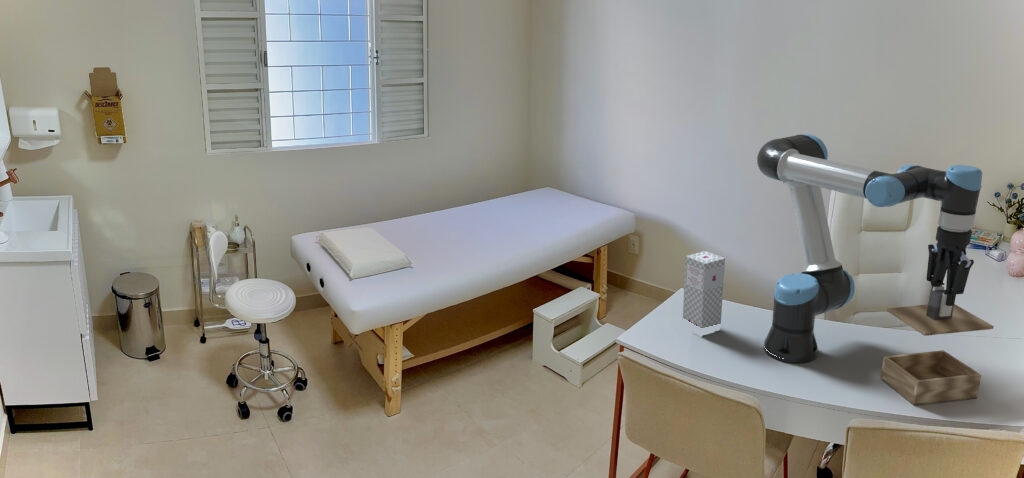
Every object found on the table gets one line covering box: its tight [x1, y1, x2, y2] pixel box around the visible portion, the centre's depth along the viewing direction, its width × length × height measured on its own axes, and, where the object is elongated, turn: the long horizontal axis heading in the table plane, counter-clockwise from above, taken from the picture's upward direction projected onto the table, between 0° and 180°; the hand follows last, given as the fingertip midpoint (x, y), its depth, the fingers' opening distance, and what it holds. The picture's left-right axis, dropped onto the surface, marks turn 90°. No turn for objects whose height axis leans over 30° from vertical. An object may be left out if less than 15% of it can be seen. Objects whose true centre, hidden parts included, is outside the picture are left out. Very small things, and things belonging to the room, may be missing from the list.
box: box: [682, 250, 726, 328], centre depth 228 cm, size 8×8×25 cm
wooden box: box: [880, 349, 982, 406], centre depth 192 cm, size 18×14×7 cm
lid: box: [886, 289, 995, 337], centre depth 186 cm, size 19×15×8 cm
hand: (939, 312), depth 186 cm, fingers closed on lid, 3 cm apart
